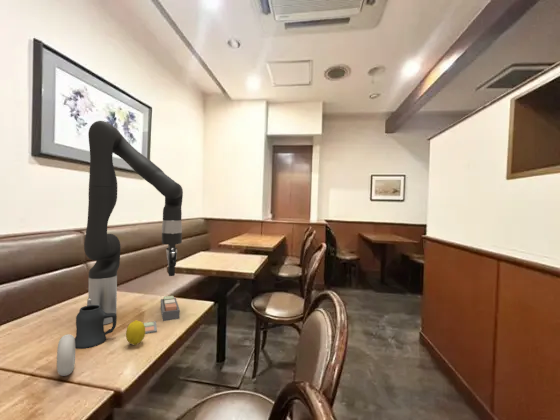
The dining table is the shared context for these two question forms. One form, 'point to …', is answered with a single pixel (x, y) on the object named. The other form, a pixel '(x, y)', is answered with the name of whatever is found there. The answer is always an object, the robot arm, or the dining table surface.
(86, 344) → the mug
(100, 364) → the dining table surface
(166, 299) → the key sage
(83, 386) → the dining table surface
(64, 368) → the donut
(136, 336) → the lemon
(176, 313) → the keypad
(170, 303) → the key cream
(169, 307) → the key terracotta
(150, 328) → the tile
